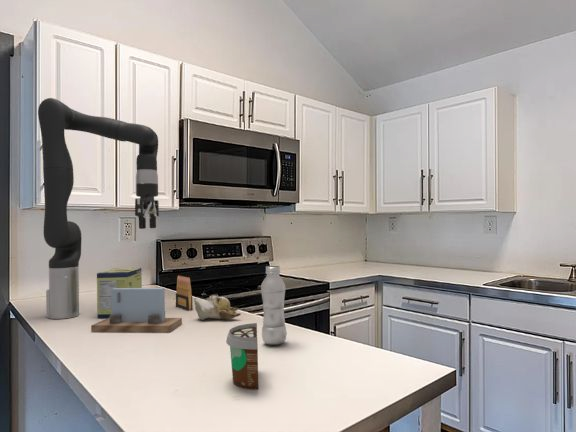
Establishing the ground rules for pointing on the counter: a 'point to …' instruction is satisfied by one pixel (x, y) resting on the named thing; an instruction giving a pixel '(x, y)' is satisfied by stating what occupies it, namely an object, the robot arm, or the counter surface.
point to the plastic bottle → (273, 307)
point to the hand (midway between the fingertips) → (147, 228)
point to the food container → (244, 355)
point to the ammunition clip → (184, 293)
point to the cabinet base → (137, 325)
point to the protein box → (114, 286)
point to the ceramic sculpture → (215, 308)
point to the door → (138, 303)
